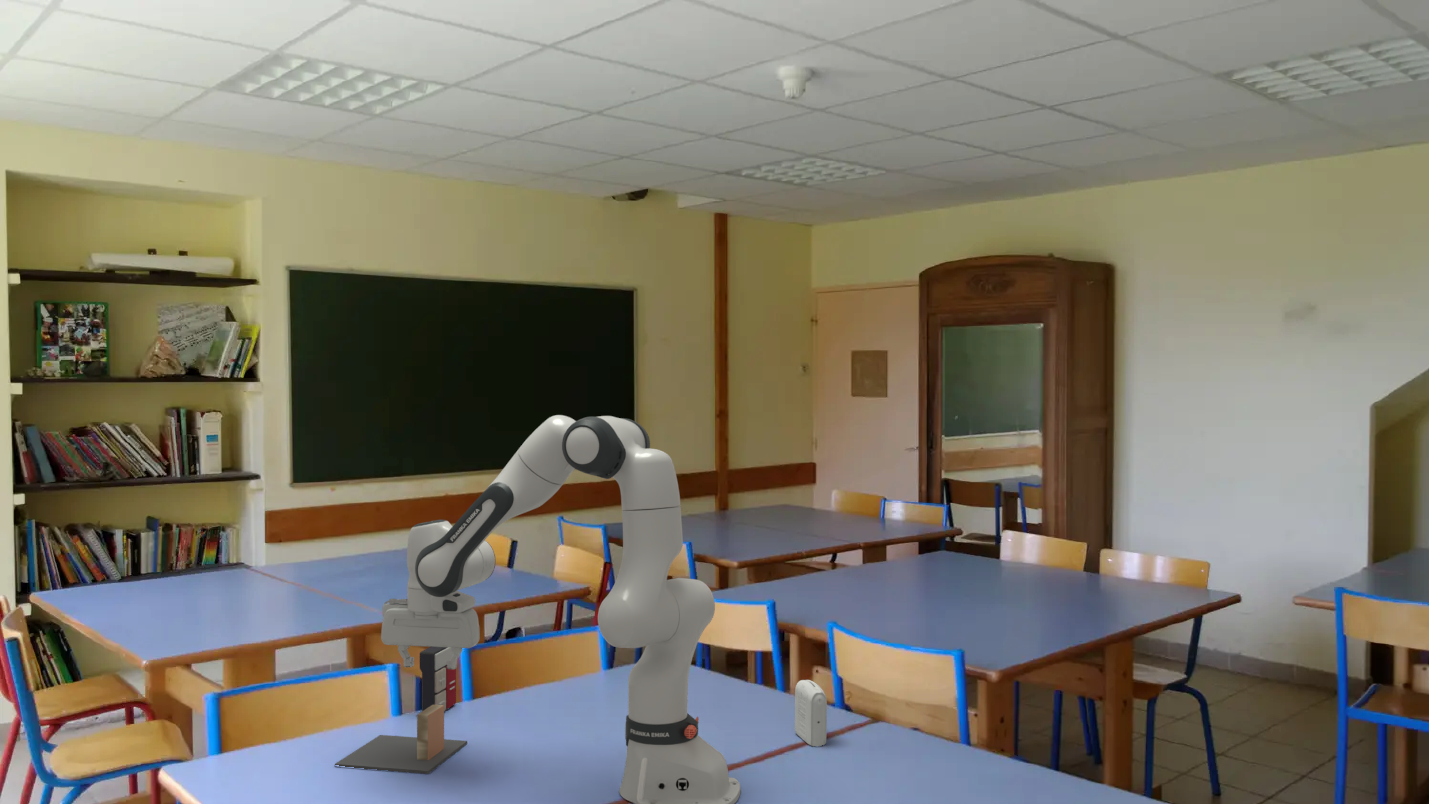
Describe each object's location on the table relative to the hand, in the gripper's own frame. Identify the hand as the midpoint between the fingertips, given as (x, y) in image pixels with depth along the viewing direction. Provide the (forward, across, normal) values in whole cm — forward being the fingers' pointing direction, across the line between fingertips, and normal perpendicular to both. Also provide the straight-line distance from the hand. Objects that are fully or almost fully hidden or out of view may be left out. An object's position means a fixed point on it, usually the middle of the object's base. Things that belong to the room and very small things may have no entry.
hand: (430, 667), depth 214 cm
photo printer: (+19, +75, +26) cm, 81 cm away
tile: (+18, 0, 0) cm, 18 cm away
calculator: (+18, -12, +29) cm, 37 cm away
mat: (+18, -6, 0) cm, 19 cm away
